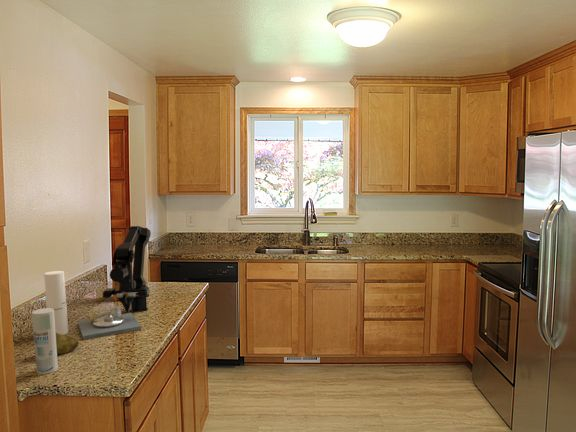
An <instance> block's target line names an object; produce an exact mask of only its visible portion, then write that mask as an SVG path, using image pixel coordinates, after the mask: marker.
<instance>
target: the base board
mask: <svg viewBox="0 0 576 432" xmlns="http://www.w3.org/2000/svg"><path fill="white" fill-rule="evenodd" d="M102 317H103V316H102ZM102 317H95V312H94V311H89V319H82V320H78V321H77V322H78V327H79V331H80V334H81V337H82V340H83V341H85V340H90V339H94V338H95V339H96V338H100V337H101V338H102V337H107V336H112V335H118V334H124V333H130V332H136V331H141V330H142V326H141V324H140V323H139V321H138V320H137V318H136V317H135V316H134V314H133V313H132V312H126V313H121V317H123V318H124V322H123V323H121V324H119V325H116V326H111V327H96V326H94V325H93V322H94V321H95V320H96V319H99V318H102Z"/></svg>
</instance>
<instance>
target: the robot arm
mask: <svg viewBox="0 0 576 432" xmlns="http://www.w3.org/2000/svg"><path fill="white" fill-rule="evenodd" d="M151 235H152V234H151V230H150V229H149V228H148V227H143V226H140V225H134V226H133V225H131V226H129V227H128V232H127V235H126V237H125V238H124V240H123V242H122V243H120V244H118V246H117V247H116V248H115V250H114V251H113V256H112V261H111V266H113V268H112V269H110V272H109V277H110V279H111V280H112V282H113V281H116V282H118V283H119V290H115V288H112V287H109V288H106V289H104V291H102V298H103V299H107V298H109V299H110V298H111V297H113V295H117V299H119V300H118V301H119V302H120V303H121V306H123V309H124V310H125V312H126V313H129V312H130V310H131V311H132V312H133V313H137V312H143V311H148V310H149V309H148V308H147V307H148V305H147V298H149V297H150V287H149V286H147V281H146V280H145V278H144V267H145V253H146V246H147V245H148V243H149V242H150V238H151ZM127 294H128V297H127Z"/></svg>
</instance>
